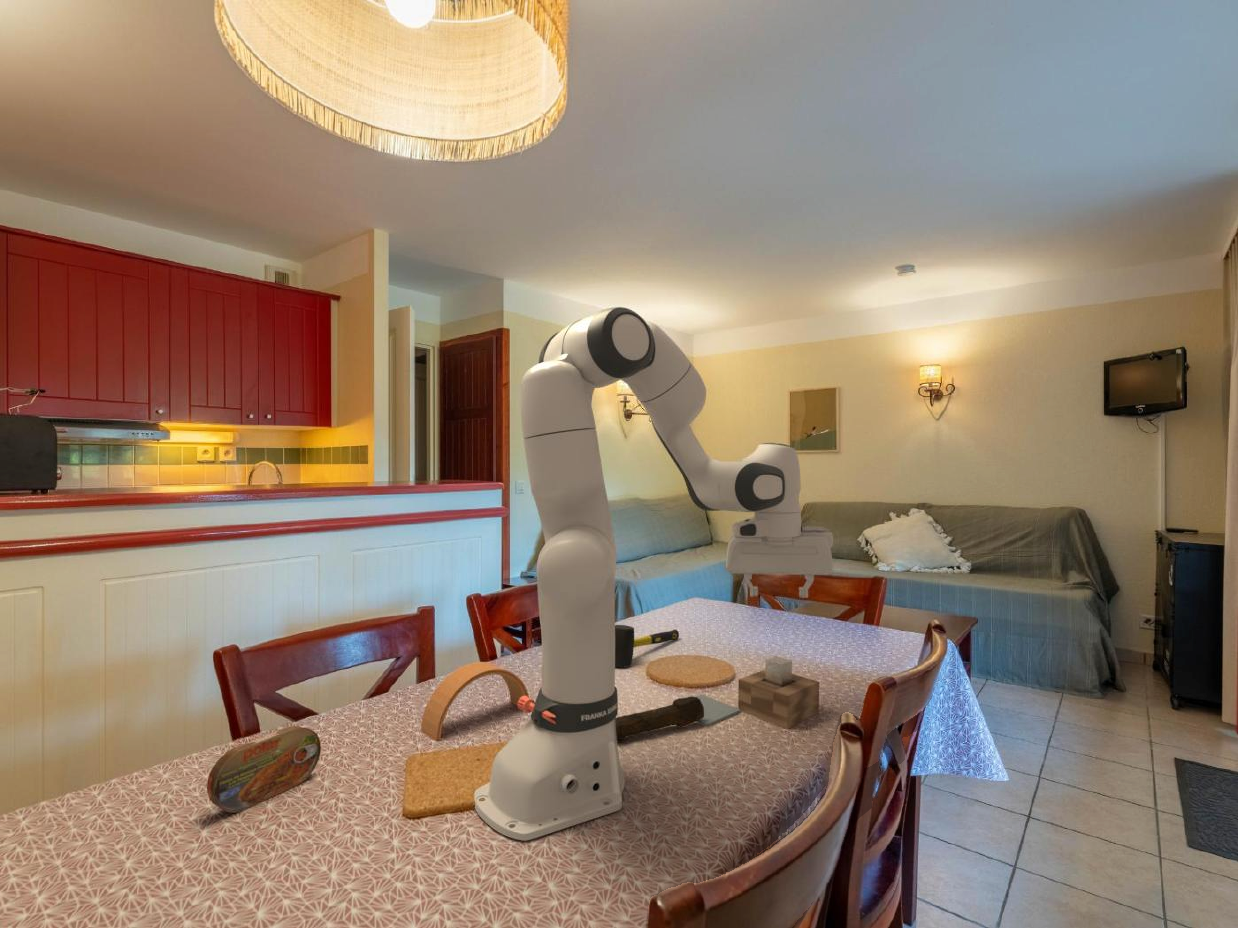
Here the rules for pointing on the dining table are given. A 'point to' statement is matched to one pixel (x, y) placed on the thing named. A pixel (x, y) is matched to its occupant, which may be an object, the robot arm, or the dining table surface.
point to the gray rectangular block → (779, 671)
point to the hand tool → (660, 717)
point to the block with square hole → (778, 699)
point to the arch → (456, 684)
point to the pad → (715, 711)
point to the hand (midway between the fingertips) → (778, 596)
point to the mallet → (635, 643)
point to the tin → (263, 768)
